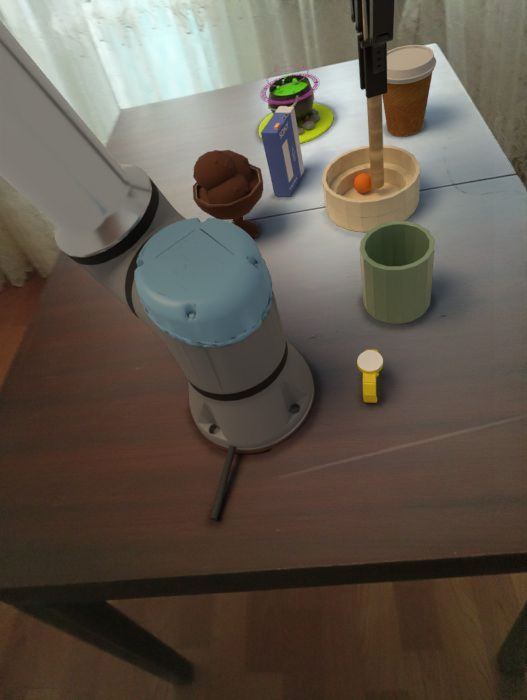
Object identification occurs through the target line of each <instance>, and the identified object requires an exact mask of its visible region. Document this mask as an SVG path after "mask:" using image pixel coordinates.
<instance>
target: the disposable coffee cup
mask: <svg viewBox="0 0 527 700" xmlns="http://www.w3.org/2000/svg"><path fill="white" fill-rule="evenodd" d="M436 65H437V59H436V57H435V52H434V50H433V49H432V48H430V47H429V46H425V45H421V44H408V45H403V46H402V45H401V46H397V47H394V48H392V49H389V50H387V93H385V94H382V105H383V111H384V116H385V117H384V118H385V124H386V130H387V132H388V133H389V134H391V135H392V136H395V137H410V136H413V135H416V134H417V133H419V132H420V131H421V130H422V129H423V127H424V123H425V117H426V111H427V106H428V101H429V95H430V89H431V83H432V76H433V72H434V70H435V68H436Z"/></svg>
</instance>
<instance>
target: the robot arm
mask: <svg viewBox="0 0 527 700" xmlns="http://www.w3.org/2000/svg"><path fill="white" fill-rule="evenodd" d="M395 2H396V1H395V0H363V8H364V22H365V37H366V39H365V40H364V32H363V11H362V0H349V6H350V8H349V9H350V21H351V22H352V23H353V24H355V27H354V30H355V31H356V34H359V35H356V39H357V57H358V73H359V88H360V90H361V91H363V90H365V91H364V92H365V98H366V100H367V99H368V98H371V97H375V96H378V95H382V94H385V93H387V52H388V45H387V44H388V42H391V41H393V40H394V28H395V27H394V26H395ZM0 177H1V178H3V180H4V181H6V183H8V184H9V185H10V186H11V187H12V188H14V189H15V190H16V192H18V193H19V194H20V195H21V196H23V198H24V199H26V200H27V201H28V202H29V203H31V205H32V206H34V207H35V208H36V209H38V211H40V212H41V213H42V214H43V215H44V216H45V217H46V218H48V220H50V222H52V223H53V225H54V231H53V232H54V239H55V244H56V245H57V247H58V248H59V249H60V251H62V252H63V253H64V254H65V255H66V256H68V257H69V258H70V259H71V260H72V261H74V263H76V264H77V265H78V266H80V268H81V269H83V270H84V272H86V273H87V274H88V275H89V276H90V277H91V278H93V279H94V280H95V281H96V282H97V283H99V284H100V285H102V287H104V288H105V289H106V290H107V291H108V292H109V293H111V295H113V296H114V297H115V298H116V299H117V300H118V301H119V302H120V303H121V304H123V306H125V308H127V309H128V310H129V311H130V312H132V314H133V315H134V316H135V317H136V318H138V319H139V320H140V321H141V322H142V323H143V324H144V325H145V326H146V327H147V328H148V329H149V330H150V331H152V333H153V334H155V336H156V337H158V338H159V340H161V342H163V344H164V345H165V346H166V348H167V349H168V350H169V351H170V352H171V354H172V355H173V357H174V358H175V360H176V362H177V364H178V366H179V367H180V369H181V370H182V372H183V374H184V376H185V378H186V379H187V382H188V401H189V402H188V405H189V410H190V413H191V416H192V419H193V421H194V424H195V426H196V427H197V429H198V430H199V432H200V433H201V435H202V436H203V437H204V438H205V439H206V440H207V441H208V442H209V443H210V444H212V445H214V446H215V447H216V448H219V449H221V450H223V451H225V452H226V457H225V461H224V464H223V468H222V472H221V476H220V479H219V483H218V486H217V487H218V488H217V492H216V496H215V500H214V503H213V506H212V509H211V513H210V516H209V519H210V520H212V521H218V520H219V519H218V518H219V515H220V512H221V510H222V509H221V508H222V505H223V502H224V497H225V493H226V489H227V485H228V482H229V478H230V473H231V469H232V465H233V461H234V458H235V454H240V455H241V454H244V455H250V454H257V453H263V452H266V451H269V450H272V448H275V447H276V446H278V445H280V444H282V443H284V442H285V441H286V440H288V439H290V438H291V437H292V436H293V435H294V434H296V433H297V432H298V431H299V429H300V428H301V427H302V426H303V425H304V423H305V422H306V421H307V419H308V417H309V415H310V414H311V411H312V408H313V406H314V402H315V394H316V393H315V391H316V390H315V384H314V382H315V381H314V378H313V374H312V371H311V368H310V366H309V365H308V363H307V361H306V360H305V358H304V356H303V355H302V354H301V353H300V352H299V351H298V350H297V349H296V348H295V346H293V345H292V344H291V342H290V341H288V339H287V337H286V334H285V330H284V326H283V322H282V319H281V314H280V312H279V308H278V304H277V301H276V297H275V293H274V290H273V289H274V288H273V280H272V276H271V273H270V269H269V267H268V265H267V262H266V260H265V258H264V257H263V255H262V252H261V250H260V248H259V246H258V244H257V243H256V242H255V239H252V238H251V236H250V235H249V234H248V233H246V232H245V231H244V230H243V229H241V228H240V227H238V226H236V225H235V224H234V222H233V223H232V222H230V221H229V220H221V219H217V218H214V217H207V218H206V219H205V220H204V221H202V220H200V219H199V218H198V217H190V218H186V217H185V216H183V215H182V214H181V213H180V212H179V211H177V209H176V208H175V207H174V206H173V205H172V204H171V203H170V201H169V199H167V197H166V196H165V195H164V194H163V192H162V191H161V189H159V187H158V186H157V185H156V183H155V182H154V181H153V180H152V178H151V177H150V176H149V175H148V173H147V172H146V171H145V170H144V169H143V168H141V167H140V166H137V165H135V164H130V163H120V162H118V161H117V159H116V157H114V155H112V153H111V152H110V151H109V150H108V149H107V147H106V146H105V145H104V144H103V142H102V141H101V140H100V138H99V137H98V136H97V135H96V133H94V132H93V130H91V128H90V127H89V126H88V125H87V123H86V122H85V121H84V119H83V118H82V117H81V116H80V115H79V114H78V112H77V111H76V110H75V109H74V107H73V106H72V105H71V104H70V103H69V101H67V99H66V98H65V97H64V95H63V94H62V92H60V90H59V89H58V88H57V87H56V86H55V85H54V84H53V82H52V81H51V80H50V78H49V77H48V76H47V75H46V74H45V73H44V71H43V70H42V69H41V68H40V67H39V65H38V63H36V62H35V60H34V59H33V58H32V56H30V54H29V53H28V52H27V51H26V49H25V48H24V47H23V46H22V45H21V44H20V43H19V41H18V40H17V39H16V37H15V36H14V35H13V34H12V33H11V32H10V30H9V29H8V28H7V27H6V26H5V24H4V23H3V22H2V21H1V20H0Z"/></svg>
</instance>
